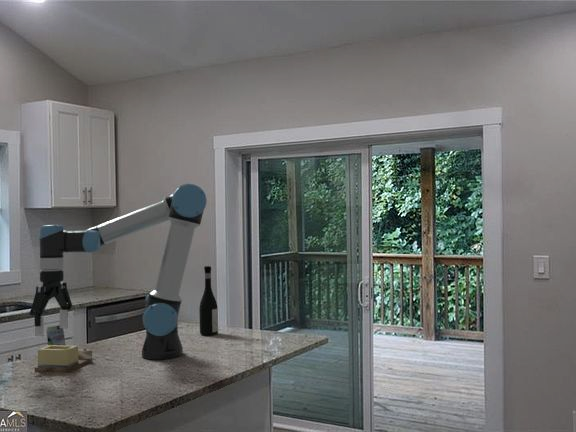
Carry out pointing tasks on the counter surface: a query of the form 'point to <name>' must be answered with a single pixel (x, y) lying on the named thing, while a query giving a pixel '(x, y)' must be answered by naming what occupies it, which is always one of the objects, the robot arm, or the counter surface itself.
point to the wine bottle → (208, 308)
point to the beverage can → (55, 335)
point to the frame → (58, 356)
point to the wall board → (83, 359)
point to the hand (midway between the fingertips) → (51, 332)
